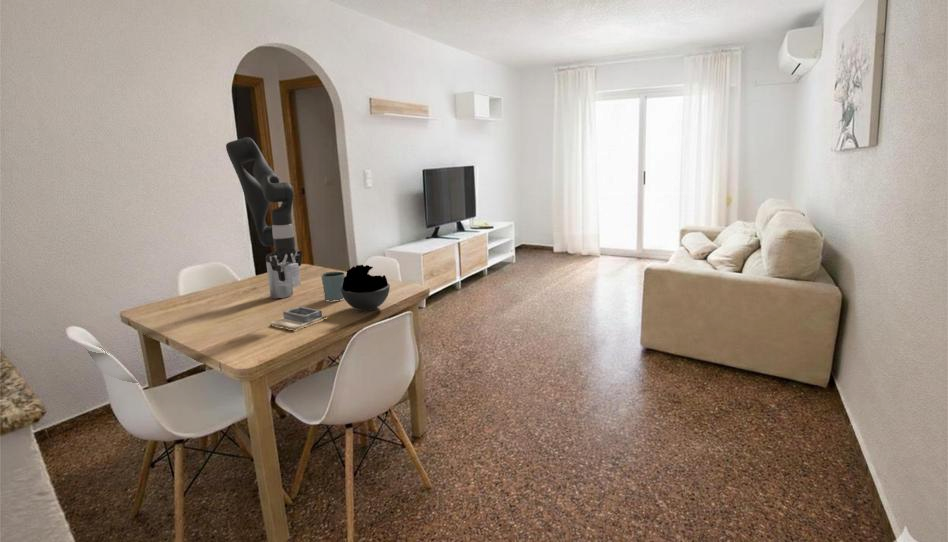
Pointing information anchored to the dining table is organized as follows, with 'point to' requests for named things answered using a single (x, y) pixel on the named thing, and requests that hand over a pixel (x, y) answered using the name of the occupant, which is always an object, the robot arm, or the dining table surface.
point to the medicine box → (290, 275)
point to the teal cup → (333, 285)
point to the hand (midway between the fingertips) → (288, 279)
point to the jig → (298, 318)
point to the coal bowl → (364, 288)
